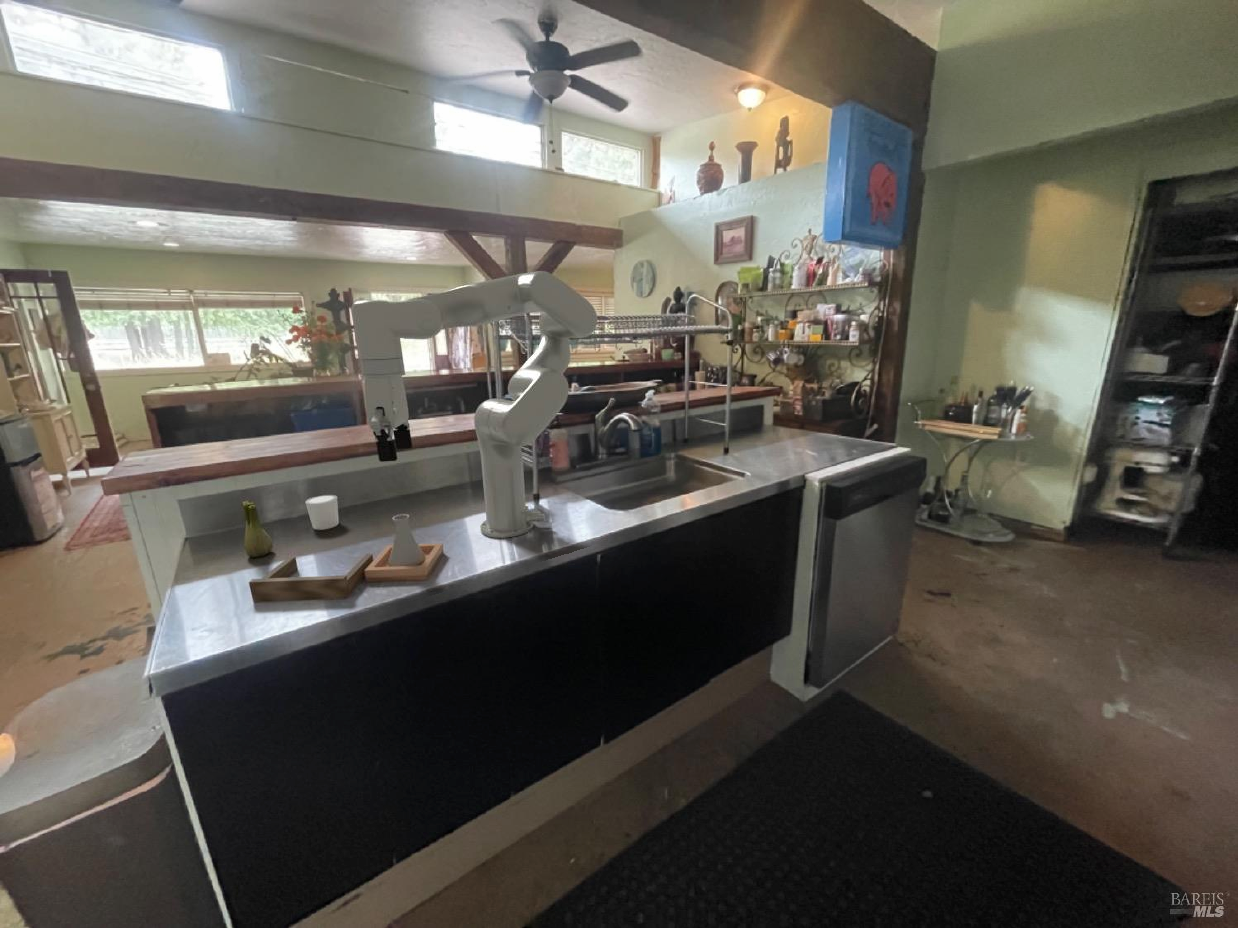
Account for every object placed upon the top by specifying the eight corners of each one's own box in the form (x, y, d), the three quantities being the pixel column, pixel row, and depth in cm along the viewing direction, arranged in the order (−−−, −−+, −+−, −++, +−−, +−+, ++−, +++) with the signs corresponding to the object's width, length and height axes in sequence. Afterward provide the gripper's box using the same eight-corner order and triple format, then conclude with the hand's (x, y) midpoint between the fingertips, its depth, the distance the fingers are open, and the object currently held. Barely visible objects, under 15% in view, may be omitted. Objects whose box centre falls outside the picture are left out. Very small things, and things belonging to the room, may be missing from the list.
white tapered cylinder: (327, 531, 120) (322, 504, 119) (303, 529, 122) (298, 502, 120) (347, 521, 127) (343, 495, 125) (324, 519, 128) (320, 493, 126)
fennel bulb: (250, 551, 110) (239, 500, 107) (277, 547, 112) (266, 496, 109) (244, 561, 105) (231, 508, 102) (271, 557, 107) (260, 505, 104)
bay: (374, 567, 102) (371, 549, 101) (346, 598, 90) (343, 578, 89) (292, 570, 101) (288, 552, 100) (253, 602, 89) (248, 582, 88)
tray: (443, 553, 108) (442, 543, 107) (427, 579, 97) (425, 568, 96) (389, 555, 107) (387, 544, 107) (366, 582, 96) (364, 570, 95)
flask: (395, 555, 105) (388, 511, 102) (430, 553, 106) (424, 509, 103) (382, 571, 98) (374, 524, 95) (419, 569, 99) (413, 523, 96)
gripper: (379, 365, 103) (391, 445, 108) (343, 373, 86) (360, 467, 91) (416, 363, 104) (427, 443, 108) (388, 372, 87) (402, 465, 92)
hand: (396, 454), depth 100 cm, fingers open, 9 cm apart
